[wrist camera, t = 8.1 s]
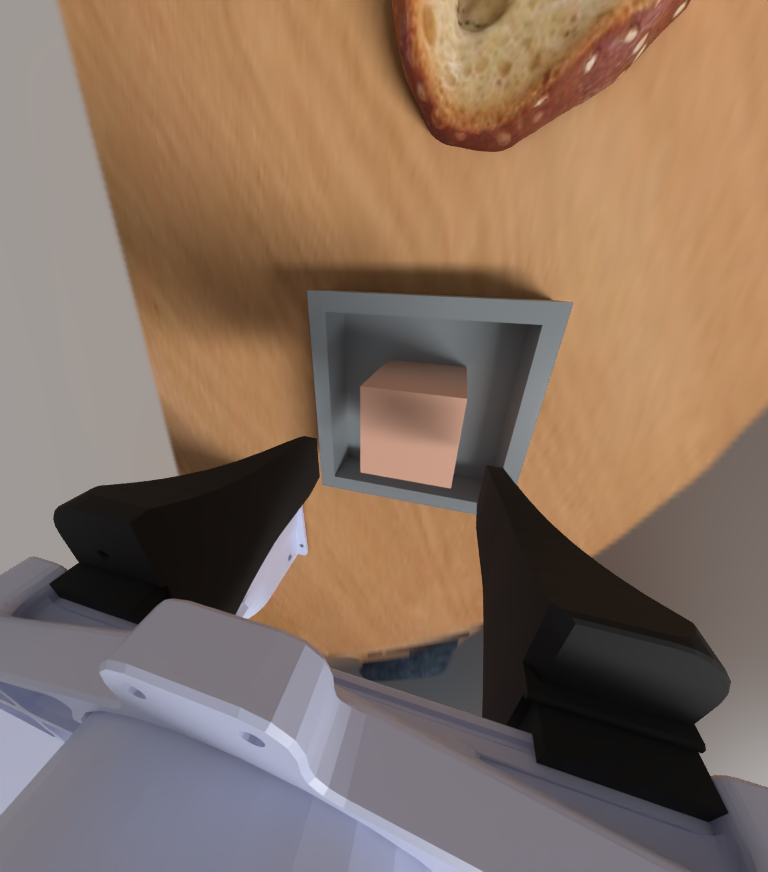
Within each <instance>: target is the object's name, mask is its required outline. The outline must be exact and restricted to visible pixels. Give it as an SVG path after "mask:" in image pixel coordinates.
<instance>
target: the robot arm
mask: <svg viewBox="0 0 768 872" xmlns="http://www.w3.org/2000/svg"><path fill="white" fill-rule="evenodd" d="M319 477H320V475H319V463H318V451H317V439H316V438H312V437H306V436H303V437H299V438H296V439H294V440H291V441H288V442H286V443H283V444H281V445H278V446H276V447H273V448H271V449H268V450H266V451H263V452H261V453H258V454H255V455H253V456H250V457H247V458H245V459H242V460H239V461H236V462H233V463H230V464H227V465H223V466H220V467H216V468H212V469H209V470H204V471H200V472H195V473H191V474H186V475H182V476H176V477H171V478H165V479H158V480H152V481H144V482H135V483H126V484H114V485H102V486H97V487H95V488H93V489H90V490H88V491H87V492H85V493H83V494H81V495H79V496H77V497H75V498H73V499H72V500H70V501H68V502H66V503H64V504H62V505H60V506H58V508H57V509H56V510H55V512H54V523H55V526H56V528H57V530H58V532H59V533H60V535H61V537H62V538H63V540H64V541H65V542H66V544H67V545H68V547H69V548H70V550H71V551H72V553H73V554H74V556H75V557H76V559H77V560H78V562H79V563H78V564H76V565H75V566H73V567H72V568H71V569H69V570H67V569H66V568H64V567H63V566H61V565H59V564H57V563H53V562H50V561H47V560H44V559H41V558H38V557H29V558H28V559H26V560H24V561H23V562H21V563H19V564H18V565H16V566H14V567H13V568H11V569H10V570H8V571H7V572H5V573H3V574H1V575H0V872H768V788H767V787H764V786H761V785H758V784H755V783H752V782H749V781H745V780H742V779H739V778H735V777H730V776H722V775H719V776H718V775H714V776H710V775H709V773H708V771H707V769H706V767H705V765H704V763H703V761H702V759H701V757H700V755H699V753H698V752H700V753H703V752H705V751H706V748H705V743H704V742H703V740H702V738H701V736H700V734H699V732H698V730H697V728H696V727H695V725H694V724H695V723H696V722H697V721H699V720H700V719H701V718H703V717H704V716H705V715H707V714H708V713H709V712H710V711H712V710H713V709H714V708H716V707H717V706H718V705H719V704H720V703H721V702H722V701H723V700H724V699H725V698H726V696H727V695H728V693H729V689H730V683H731V681H730V678H729V676H728V674H727V672H726V670H725V668H724V667H723V665H722V664H721V662H720V661H719V659H718V658H717V657H716V655H715V654H714V652H713V651H712V649H711V648H710V646H709V645H708V643H707V642H706V641H705V639H704V638H703V636H702V635H701V633H700V632H699V630H698V629H697V628H696V626H695V625H694V624H693V623H692V622H690V621H689V620H687V619H685V618H684V617H682V616H680V615H678V614H677V613H675V612H673V611H672V610H670V609H668V608H667V607H665V606H663V605H662V604H660V603H658V602H656V601H655V600H653V599H652V598H650V597H648V596H646V595H645V594H643V593H642V592H640V591H639V590H637V589H636V588H634V587H633V586H631V585H630V584H628V583H626V582H625V581H624V580H622V579H621V578H619V577H618V576H616V575H614V574H613V573H612V572H610V571H609V570H607V569H606V568H605V567H603V566H602V565H601V564H599V563H598V562H597V561H595V560H594V559H593V558H591V557H590V556H589V555H587V554H586V553H585V552H584V551H582V550H581V549H580V548H578V547H577V546H576V545H575V544H574V543H572V542H571V541H570V540H569V539H568V538H567V537H566V536H564V535H563V534H562V533H561V532H560V531H559V530H558V529H557V528H555V527H554V526H553V525H552V524H551V523H550V522H549V521H548V520H547V519H546V518H545V517H544V516H543V515H542V514H541V513H540V512H539V511H538V509H537V508H536V507H535V506H534V505H533V504H532V503H531V502H530V501H529V499H528V498H527V497H526V496H525V495H524V494H523V492H522V491H521V490H520V489H519V487H518V486H517V485H516V484H515V482H514V481H513V480H512V479H511V477H510V476H509V475H508V473H507V472H506V471H505V470H504V468H502V467H495V466H489V465H486V469H485V473H484V478H483V482H482V486H481V490H480V494H479V498H478V503H477V515H476V530H477V539H478V548H479V557H480V565H481V574H482V583H483V617H484V653H483V654H484V656H483V709H482V710H483V711H482V717H479V716H475V715H473V714H470V713H467V712H464V711H460V710H457V709H454V708H451V707H448V706H445V705H442V704H439V703H436V702H433V701H430V700H427V699H424V698H421V697H418V696H414V695H411V694H409V693H406V692H403V691H399V690H397V689H393V688H390V687H387V686H384V685H381V684H378V683H375V682H372V681H369V680H366V679H363V678H360V677H357V676H354V675H351V674H348V673H345V672H342V671H339V670H336V669H333V668H330V667H329V665H328V663H327V661H326V659H325V657H324V655H323V654H322V653H321V652H319V651H318V650H317V649H316V648H315V647H313V646H312V645H311V644H310V643H309V642H307V641H306V640H304V639H302V638H300V637H297V636H295V635H293V634H291V633H289V632H287V631H285V630H282V629H278V628H275V627H272V626H269V625H265V624H262V623H259V622H256V621H253V620H249V619H248V618H250V617H251V616H253V615H254V614H256V613H257V612H258V611H259V610H261V609H262V608H263V607H264V606H265V604H266V603H267V602H268V600H269V599H270V597H271V596H272V594H273V593H274V591H275V589H276V588H277V586H278V585H279V583H280V581H281V580H282V578H283V577H284V575H285V574H286V572H287V570H288V569H289V567H290V566H291V564H292V562H293V561H294V559H295V558H296V556H297V555H298V554H300V555H306V554H307V553H308V545H307V537H306V529H305V521H304V513H303V504H304V502H305V501H306V499H307V498H308V497H309V495H310V494H311V492H312V490H313V488H314V487H315V485H316V483H317V481H318V479H319Z"/></svg>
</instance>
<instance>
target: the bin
mask: <svg viewBox="0 0 768 872" xmlns="http://www.w3.org/2000/svg"><path fill="white" fill-rule="evenodd" d="M307 298H308V311H309V323H310V336H311V348H312V361H313V373H314V385H315V398H316V410H317V423H318V435H319V447H320V460H321V472H322V485H325V486H330V487H335V488H340V489H345V490H351V491H356V492H361V493H366V494H371V495H376V496H382V497H387V498H392V499H397V500H402V501H408V502H413V503H418V504H423V505H428V506H433V507H439V508H444V509H449V510H454V511H459V512H465V513H470V514H475V515H477V503H478V498H479V494H480V490H481V486H482V482H483V478H484V473H485V469H486V465H489V466H495V467H502V468H504V470H505V471H506V472H507V473H508V475H509V476H510V477H511V479H512V480H513V481H514V482H515V484H516V485H517V482H518V479H519V476H520V473H521V469H522V466H523V463H524V460H525V457H526V453H527V450H528V447H529V444H530V441H531V437H532V434H533V431H534V428H535V424H536V421H537V418H538V415H539V412H540V408H541V405H542V402H543V399H544V396H545V392H546V389H547V386H548V383H549V380H550V376H551V373H552V370H553V367H554V363H555V360H556V357H557V354H558V351H559V347H560V344H561V341H562V338H563V335H564V331H565V328H566V325H567V322H568V318H569V315H570V312H571V309H572V306H573V303H572V302H565V301H557V300H542V299H520V298H498V297H475V296H453V295H431V294H408V293H386V292H364V291H342V290H307ZM388 360H399V361H409V362H420V363H430V364H441V365H451V366H462V367H467V403H466V409H465V414H464V420H463V425H462V431H461V436H460V442H459V447H458V453H457V458H456V464H455V469H454V475H453V480H452V486H451V488H445V487H439V486H434V485H428V484H423V483H417V482H412V481H406V480H400V479H395V478H389V477H384V476H378V475H373V474H367V473H361V472H360V386H361V385H362V384H363V383H364V382H365V381H367V380H368V379H369V378H370V377H371V376H372V375H373V374H374V373H375V372H376V371H377V370H378V369H379V368H380V367H382V366H383V365H384V364H385V363H386V362H387V361H388Z"/></svg>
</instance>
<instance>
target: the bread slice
mask: <svg viewBox="0 0 768 872" xmlns="http://www.w3.org/2000/svg"><path fill="white" fill-rule="evenodd" d="M691 1H692V0H392V10H393V17H394V26H395V35H396V40H397V45H398V50H399V55H400V59H401V62H402V66H403V70H404V74H405V77H406V80H407V83H408V85H409V87H410V89H411V92H412V94H413V95H414V98H415V100H416V102H417V104H418V106H419V108H420V111H421V113H422V115H423V117H424V119H425V122H426V124H427V126H428V128H429V130H430V132H431V134H432V135H433V136H434V137H435V138H436V139H437V140H439V141H440V142H442V143H444V144H446V145H450V146H456V147H462V148H466V149H471V150H477V151H488V152H497V151H502V150H505V149H508V148H510V147H512V146H513V145H515V144H516V143H517V142H519V141H520V140H522V139H523V138H525V137H527V136H528V135H530V134H532V133H534V132H535V131H537V130H538V129H539V128H541V127H542V126H544V125H545V124H547V123H549V122H550V121H552V120H553V119H555V118H557V117H558V116H560V115H561V114H563V113H565V112H566V111H568V110H570V109H571V108H573V107H575V106H577V105H579V104H582V103H583V102H585V101H586V100H588V99H589V98H591V97H592V96H594V95H596V94H597V93H599V92H600V91H602V90H604V89H605V88H606V87H608V86H609V85H610V84H612V83H613V82H614V81H616V80H617V79H618V78H619V77H620V76H621V75H622V74H623V73H624V72H625V71H626V70H627V69H628V68H629V67H630V66H631V65H632V64H633V63H634V62H635V61H636V60H637V59H638V57H639V56H640V55H641V54H642V53H643V52H644V51H645V50H646V49H647V47H648V46H649V45H650V44H651V43H652V42H653V41H654V40H655V39H656V38H657V36H658V35H659V34H660V33H661V32H662V31H663V30H664V29H665V28H666V27H667V26H668V25H669V24H670V23H671V22H672V21H673V20H674V19H676V18H677V17H678V16H679V15H680V14H681V13H682V12H683V11H684V10H685V9H686V8H687V6H688V5H689V4H690V3H691Z"/></svg>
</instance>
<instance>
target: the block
mask: <svg viewBox="0 0 768 872" xmlns="http://www.w3.org/2000/svg"><path fill="white" fill-rule="evenodd" d="M466 403H467V367H462V366H451V365H441V364H430V363H420V362H409V361H399V360H388V361H387V362H386V363H385V364H384V365H383V366H382V367H380V368H379V369H378V370H377V371H376V372H375V373H374V374H373V375H372V376H371V377H370V378H369V379H368V380H367V381H365V382H364V383H363V384H362V385H361V386H360V472H361V473H367V474H373V475H378V476H384V477H389V478H395V479H400V480H406V481H412V482H417V483H423V484H428V485H434V486H439V487H445V488H451V486H452V480H453V475H454V469H455V464H456V458H457V453H458V447H459V442H460V436H461V431H462V425H463V420H464V414H465V409H466Z"/></svg>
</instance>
